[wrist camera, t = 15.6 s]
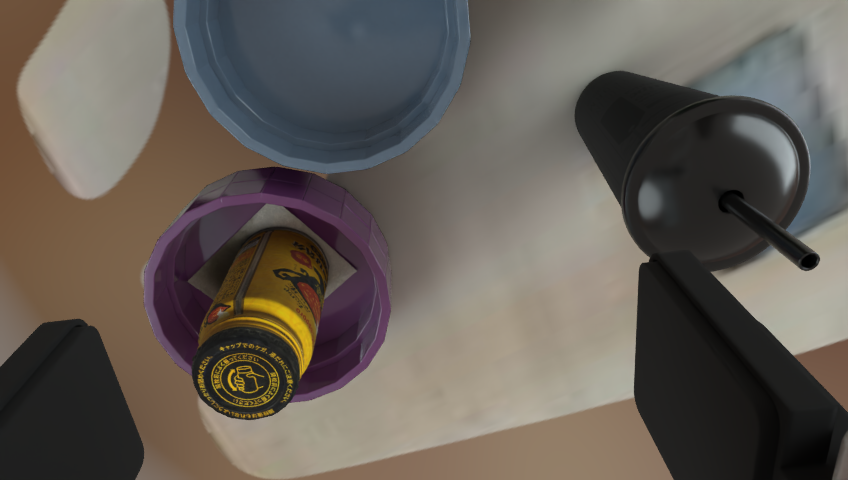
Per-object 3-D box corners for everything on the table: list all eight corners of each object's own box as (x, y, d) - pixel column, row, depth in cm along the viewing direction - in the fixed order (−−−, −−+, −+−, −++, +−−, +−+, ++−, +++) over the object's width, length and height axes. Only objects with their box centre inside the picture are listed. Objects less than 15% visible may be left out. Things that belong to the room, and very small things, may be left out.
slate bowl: (171, -107, 32) (134, -116, 28) (448, -141, 32) (456, -156, 28) (237, 159, 38) (215, 187, 34) (470, 131, 38) (479, 156, 34)
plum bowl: (143, 179, 39) (110, 210, 34) (374, 152, 38) (370, 179, 34) (203, 368, 45) (182, 415, 40) (403, 345, 45) (403, 390, 40)
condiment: (357, 269, 41) (343, 383, 31) (272, 344, 44) (231, 475, 33) (273, 195, 39) (225, 290, 28) (188, 278, 41) (113, 397, 30)
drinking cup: (556, 181, 40) (688, 377, 22) (545, 60, 36) (689, 170, 18) (676, 160, 39) (913, 340, 21) (676, 35, 36) (954, 123, 18)
